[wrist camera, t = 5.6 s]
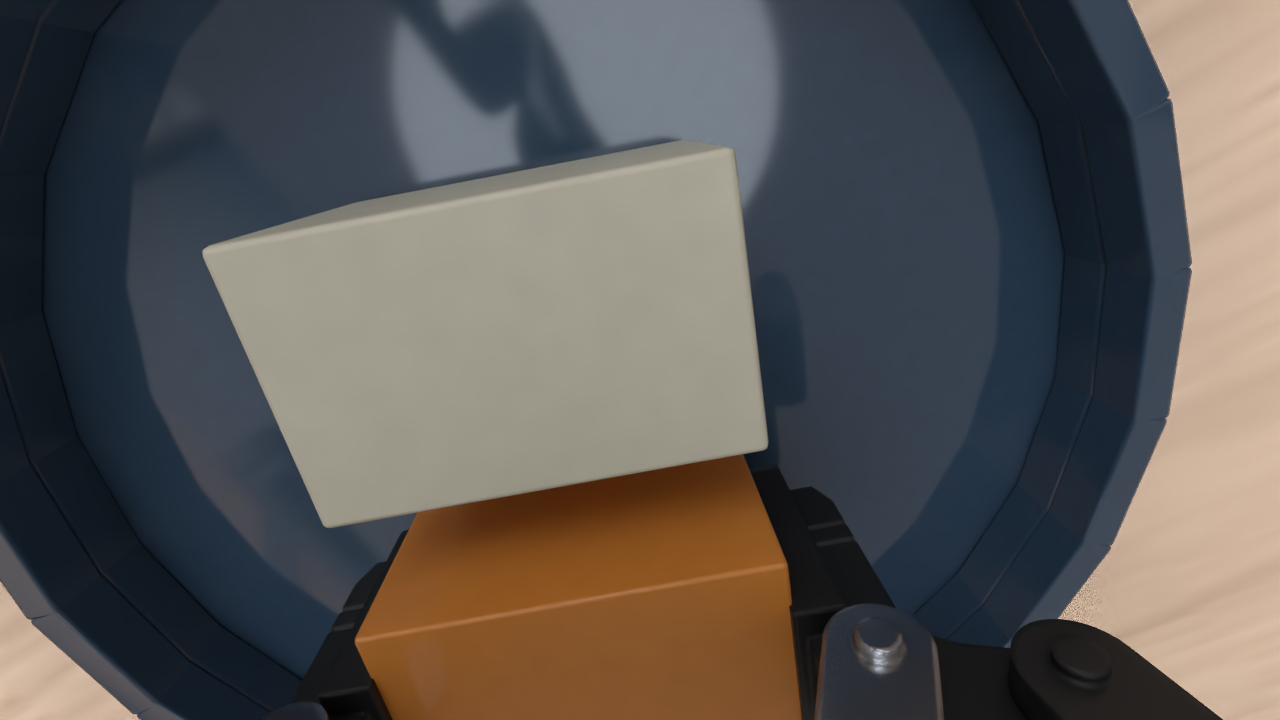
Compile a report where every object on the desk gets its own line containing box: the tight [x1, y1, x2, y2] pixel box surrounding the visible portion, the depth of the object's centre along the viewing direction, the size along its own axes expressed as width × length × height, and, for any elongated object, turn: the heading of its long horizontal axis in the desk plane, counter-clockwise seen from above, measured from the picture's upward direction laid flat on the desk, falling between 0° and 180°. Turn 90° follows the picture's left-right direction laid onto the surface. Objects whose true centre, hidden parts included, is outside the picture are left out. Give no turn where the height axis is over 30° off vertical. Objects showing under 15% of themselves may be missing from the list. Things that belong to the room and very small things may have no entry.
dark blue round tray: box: [0, 0, 1192, 720], centre depth 11 cm, size 19×19×2 cm
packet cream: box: [202, 140, 768, 528], centre depth 8 cm, size 4×6×4 cm, turn 100°
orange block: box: [355, 454, 802, 720], centre depth 10 cm, size 4×6×4 cm, turn 100°
